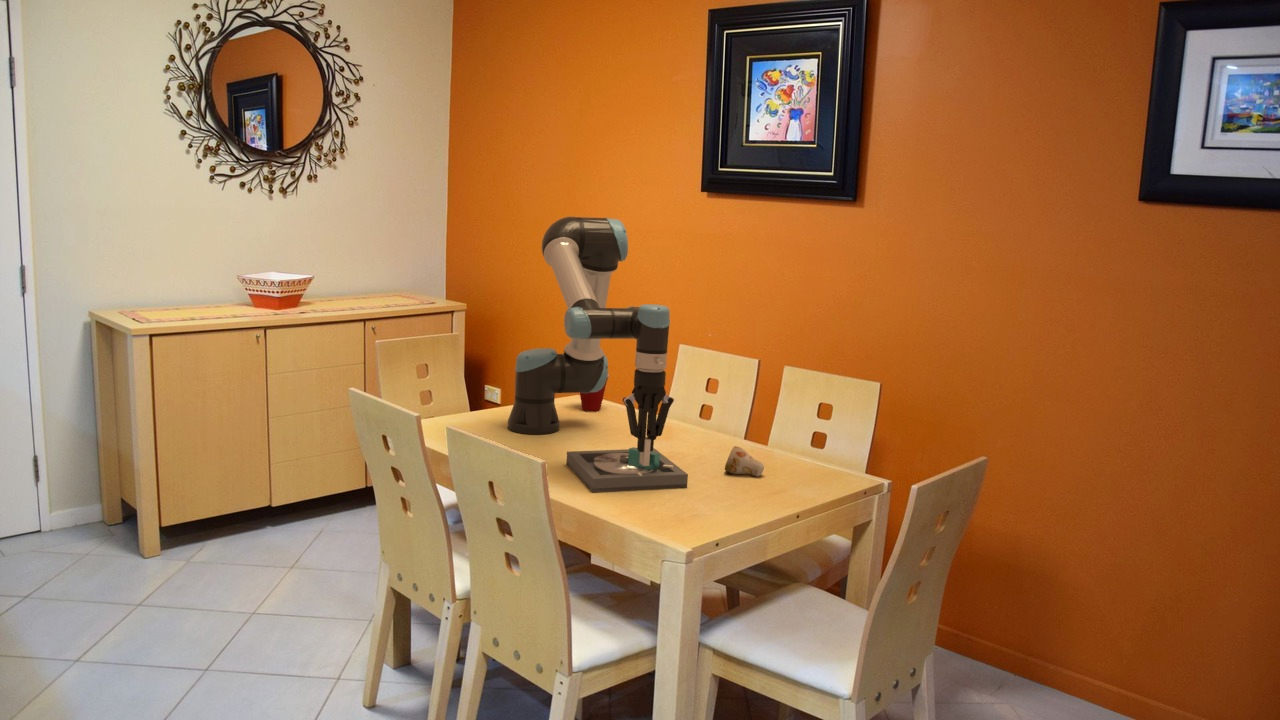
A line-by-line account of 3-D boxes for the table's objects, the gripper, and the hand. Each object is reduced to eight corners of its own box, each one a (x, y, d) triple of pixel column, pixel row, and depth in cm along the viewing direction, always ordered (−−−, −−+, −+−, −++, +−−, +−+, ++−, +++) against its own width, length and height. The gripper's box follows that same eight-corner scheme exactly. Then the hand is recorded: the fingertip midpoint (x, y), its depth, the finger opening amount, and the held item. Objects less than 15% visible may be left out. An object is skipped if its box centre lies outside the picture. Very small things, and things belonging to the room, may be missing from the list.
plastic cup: (601, 405, 321) (603, 370, 319) (612, 413, 311) (614, 376, 309) (569, 406, 317) (571, 370, 315) (580, 414, 307) (581, 377, 305)
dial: (580, 470, 242) (581, 446, 240) (619, 458, 254) (620, 435, 253) (636, 486, 231) (637, 460, 230) (674, 472, 244) (675, 448, 243)
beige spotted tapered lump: (764, 481, 246) (746, 448, 244) (731, 491, 251) (714, 458, 249) (771, 467, 252) (754, 435, 250) (739, 477, 257) (722, 445, 255)
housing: (566, 464, 251) (567, 450, 250) (653, 460, 259) (654, 446, 258) (592, 492, 228) (593, 477, 228) (687, 487, 236) (688, 472, 236)
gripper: (632, 372, 227) (626, 470, 230) (681, 371, 232) (674, 467, 236) (619, 366, 233) (613, 461, 237) (667, 366, 239) (661, 458, 243)
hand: (644, 464), depth 236 cm, fingers closed
